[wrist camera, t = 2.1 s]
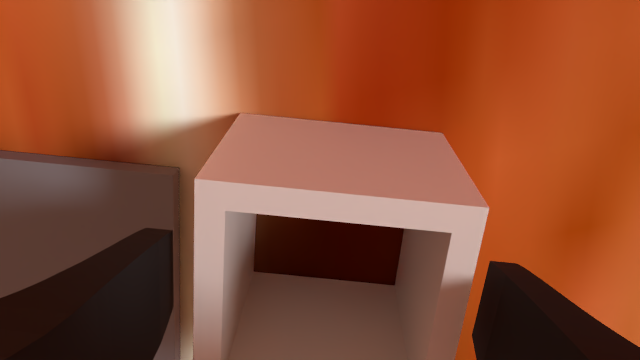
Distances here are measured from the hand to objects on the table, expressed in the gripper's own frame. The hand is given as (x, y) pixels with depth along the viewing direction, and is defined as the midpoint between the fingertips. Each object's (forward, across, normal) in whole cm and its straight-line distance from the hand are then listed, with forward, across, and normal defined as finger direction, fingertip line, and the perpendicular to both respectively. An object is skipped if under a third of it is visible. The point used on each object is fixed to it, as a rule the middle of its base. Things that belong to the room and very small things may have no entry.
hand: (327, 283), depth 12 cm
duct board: (+4, +11, +8) cm, 14 cm away
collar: (+4, 0, 0) cm, 4 cm away
